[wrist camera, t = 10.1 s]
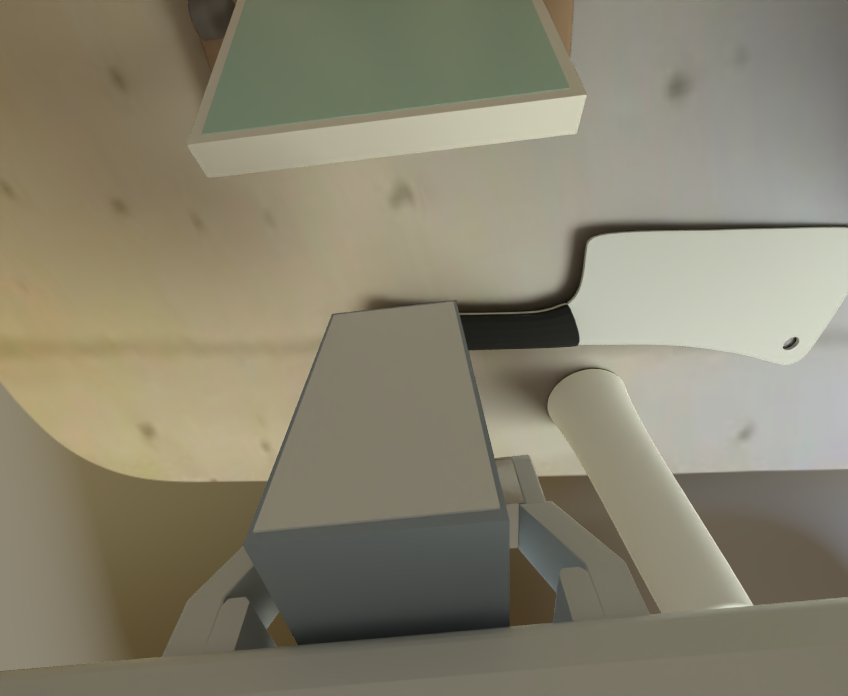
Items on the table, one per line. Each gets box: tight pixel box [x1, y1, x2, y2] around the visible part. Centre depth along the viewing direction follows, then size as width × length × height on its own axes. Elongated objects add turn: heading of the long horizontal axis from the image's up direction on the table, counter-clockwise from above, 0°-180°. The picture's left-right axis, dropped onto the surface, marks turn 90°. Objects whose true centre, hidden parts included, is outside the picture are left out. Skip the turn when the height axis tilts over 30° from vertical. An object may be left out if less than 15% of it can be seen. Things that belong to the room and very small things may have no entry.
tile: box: [186, 0, 587, 178], centre depth 15 cm, size 12×10×1 cm
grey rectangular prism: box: [243, 300, 510, 645], centre depth 11 cm, size 4×8×8 cm, turn 6°
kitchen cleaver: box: [459, 227, 848, 364], centre depth 26 cm, size 31×2×10 cm
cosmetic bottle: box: [547, 369, 753, 614], centre depth 22 cm, size 6×6×22 cm
